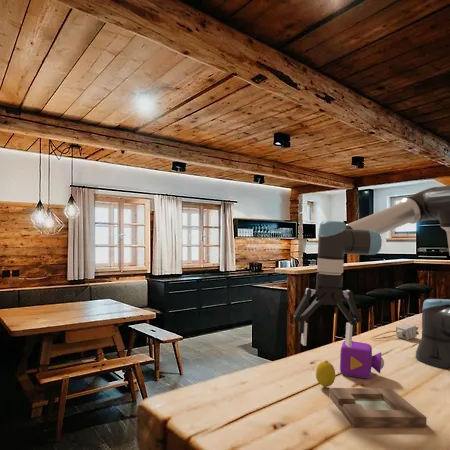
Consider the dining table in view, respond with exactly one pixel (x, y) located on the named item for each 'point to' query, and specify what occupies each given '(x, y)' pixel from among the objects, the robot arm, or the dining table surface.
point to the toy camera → (359, 360)
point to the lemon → (325, 374)
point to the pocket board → (376, 408)
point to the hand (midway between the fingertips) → (325, 345)
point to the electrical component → (403, 332)
